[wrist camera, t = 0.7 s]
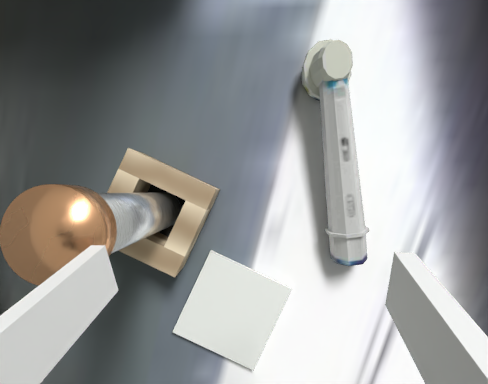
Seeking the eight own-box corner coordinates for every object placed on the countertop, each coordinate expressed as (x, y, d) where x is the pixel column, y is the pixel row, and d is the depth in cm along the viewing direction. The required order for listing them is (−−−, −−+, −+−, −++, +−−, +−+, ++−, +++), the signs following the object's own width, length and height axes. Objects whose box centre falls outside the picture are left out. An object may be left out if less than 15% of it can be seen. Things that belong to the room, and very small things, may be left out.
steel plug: (153, 181, 31) (25, 167, 13) (192, 199, 31) (118, 210, 13) (135, 220, 31) (-17, 260, 13) (174, 238, 31) (75, 304, 13)
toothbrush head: (333, 269, 27) (311, 24, 24) (315, 247, 34) (296, 53, 30) (380, 263, 27) (366, 17, 24) (353, 242, 34) (339, 47, 30)
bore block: (143, 153, 31) (128, 147, 27) (220, 189, 31) (216, 189, 27) (107, 230, 31) (87, 235, 27) (184, 266, 31) (174, 277, 27)
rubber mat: (211, 250, 31) (210, 251, 30) (290, 287, 31) (291, 289, 30) (173, 329, 31) (172, 332, 30) (253, 367, 31) (253, 370, 30)
